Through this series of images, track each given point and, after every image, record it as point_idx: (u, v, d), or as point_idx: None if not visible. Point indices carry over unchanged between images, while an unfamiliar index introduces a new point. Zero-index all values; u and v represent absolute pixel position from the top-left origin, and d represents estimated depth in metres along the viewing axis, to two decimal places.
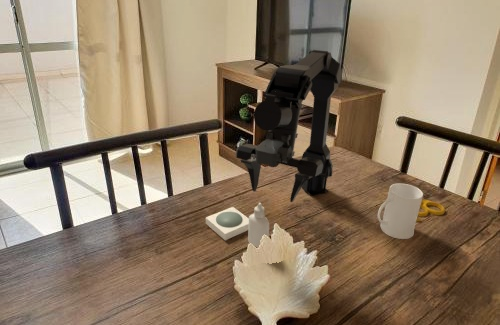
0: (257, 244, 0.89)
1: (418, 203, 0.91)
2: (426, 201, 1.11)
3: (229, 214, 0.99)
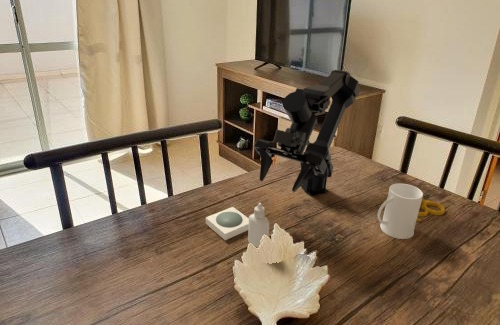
0: (257, 244, 0.89)
1: (418, 203, 0.91)
2: (426, 201, 1.11)
3: (229, 214, 0.99)
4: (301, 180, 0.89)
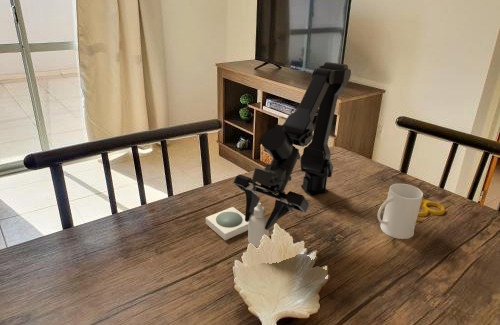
0: (257, 244, 0.89)
1: (418, 203, 0.91)
2: (426, 201, 1.11)
3: (229, 214, 0.99)
4: (274, 218, 0.86)
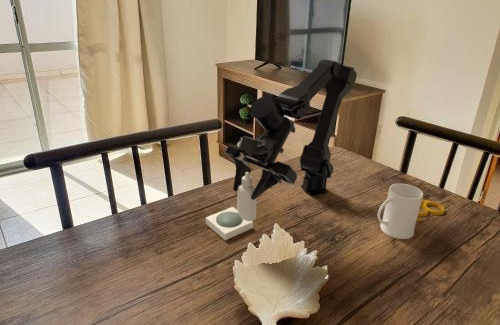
0: (244, 214, 0.89)
1: (418, 203, 0.91)
2: (426, 201, 1.11)
3: (229, 214, 0.99)
4: (261, 188, 0.85)
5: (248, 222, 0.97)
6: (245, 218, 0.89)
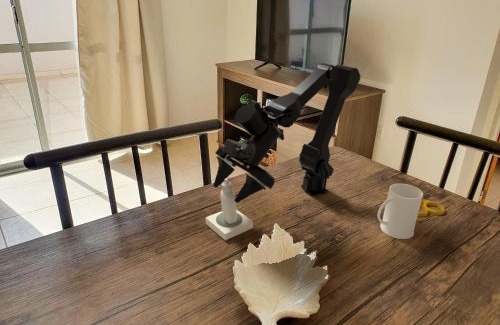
0: (225, 217, 0.95)
1: (418, 203, 0.91)
2: (426, 201, 1.11)
3: None
4: (244, 192, 0.89)
5: (248, 222, 0.97)
6: (226, 220, 0.95)
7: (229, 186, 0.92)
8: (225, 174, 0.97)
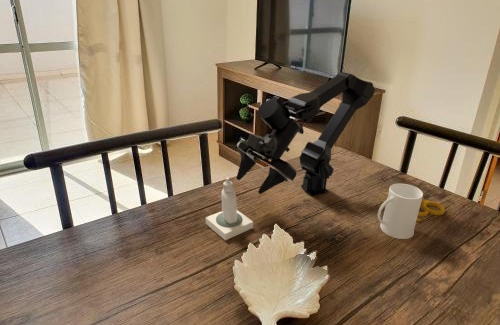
0: (225, 216, 0.95)
1: (418, 203, 0.91)
2: (426, 201, 1.11)
3: None
4: (267, 184, 0.93)
5: (248, 222, 0.97)
6: (226, 220, 0.95)
7: (230, 185, 0.92)
8: (247, 167, 1.02)
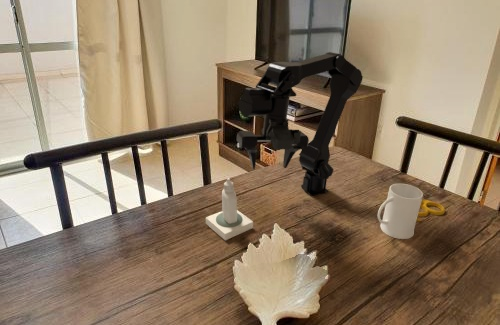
0: (225, 216, 0.95)
1: (418, 203, 0.91)
2: (426, 201, 1.11)
3: None
4: None
5: (248, 222, 0.97)
6: (226, 220, 0.95)
7: (231, 186, 0.92)
8: None
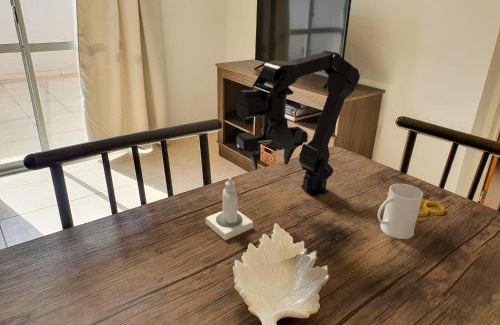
0: (226, 216, 0.95)
1: (418, 203, 0.91)
2: (426, 201, 1.11)
3: None
4: None
5: (248, 222, 0.97)
6: (226, 220, 0.95)
7: (232, 185, 0.93)
8: None
